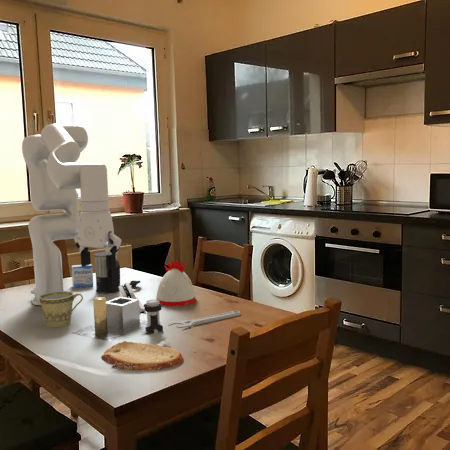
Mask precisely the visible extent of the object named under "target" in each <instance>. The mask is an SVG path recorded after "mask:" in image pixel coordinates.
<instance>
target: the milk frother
mask: <svg viewBox="0 0 450 450" xmlns="http://www.w3.org/2000/svg"><path fill="white" fill-rule="evenodd" d="M118 254H119V252H117V254H115V257H116V267H115V268H112V269H107V267H106V255H108V254H107V252H106V251H101V252H95V253H93V257H94V269H95V287H96V288H95V292H96V293H98V294H111V293H116V292H120V290H119V286H120V285H121V266H120V261H119V260H118ZM128 283H129V284H130V286H131V288H135V287H136V286H137V285H138V284H140V283H141V280H131V281H129V282H128ZM123 286H124V285H123ZM124 288H125V286H124Z"/></svg>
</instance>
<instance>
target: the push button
mask: <svg viewBox="0 0 450 450" xmlns="http://www.w3.org/2000/svg"><path fill="white" fill-rule="evenodd" d="M143 308H144V309H145V311H146V319H147V320H146V321H147V325H145V326H144V329H145V331H140V333H141V334H144V333H145V334H147V335H151V334H158V333H160V332H163V331H164V326H163V325H162V324H161V322H160V311H161V310H162V309H163V305H162V303H159V301H158V300H157V299H148V300H147V301H146V303H144V304H143Z"/></svg>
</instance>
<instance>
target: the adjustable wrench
mask: <svg viewBox="0 0 450 450" xmlns="http://www.w3.org/2000/svg"><path fill="white" fill-rule="evenodd" d="M238 316H241V311H239V310H232V311H226V312H222V313H218V314H212V315H208V316H204V317H200V318H199V317H198V318H194V319H185V320H174V321H173V320H172V321H170V322H168V324H167V325H168V327H169V326H172V325H175V324H176V325H177V326H176V328H184V329H183V331H187V330H192V329H193V328H194V327H195V326H198V325H202V324H206V323H211V322H216V321H221V320H226V319H230V318H234V317H238ZM178 324H179V325H178Z"/></svg>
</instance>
